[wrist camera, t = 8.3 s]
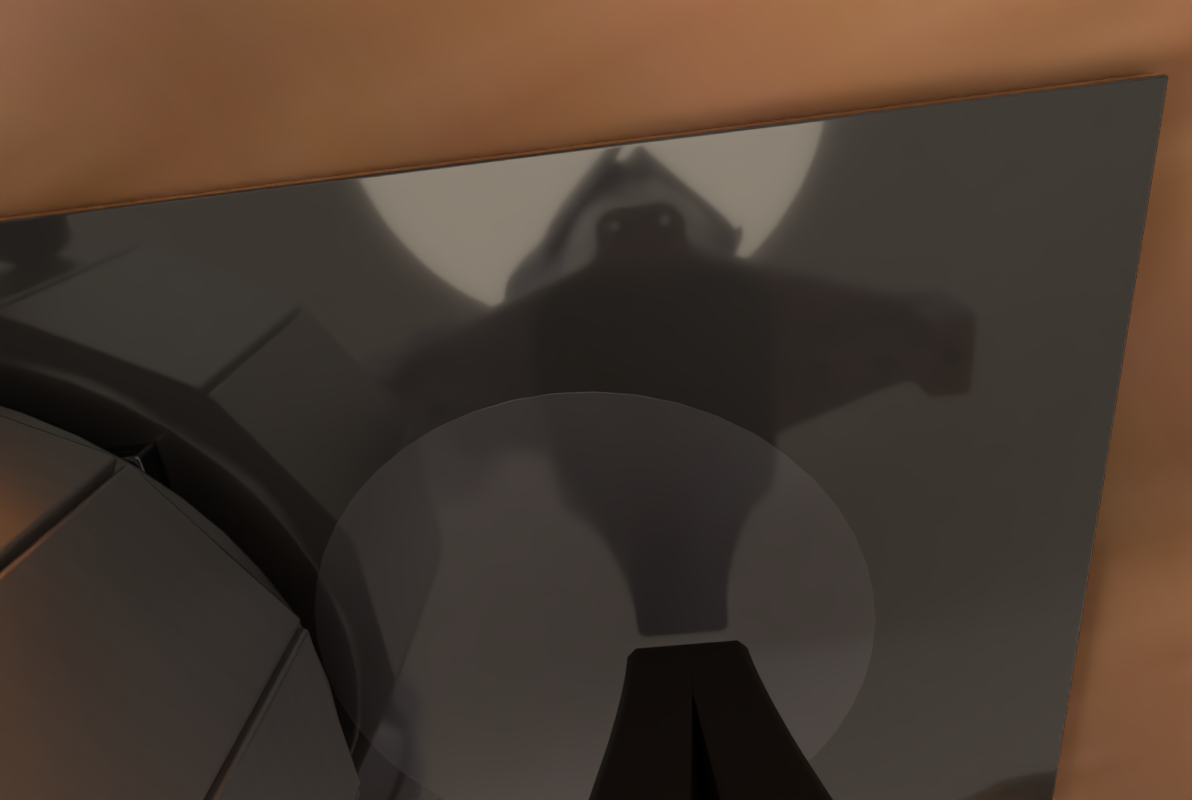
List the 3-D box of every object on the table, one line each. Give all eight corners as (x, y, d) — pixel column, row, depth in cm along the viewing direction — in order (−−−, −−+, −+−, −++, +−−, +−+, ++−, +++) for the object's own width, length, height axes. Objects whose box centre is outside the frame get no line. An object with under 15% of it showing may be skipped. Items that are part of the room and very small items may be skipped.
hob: (1151, 73, 8) (1171, 72, 8) (1026, 905, 13) (1034, 924, 13) (-672, 302, 10) (-710, 309, 9) (-135, 967, 15) (-149, 985, 14)
